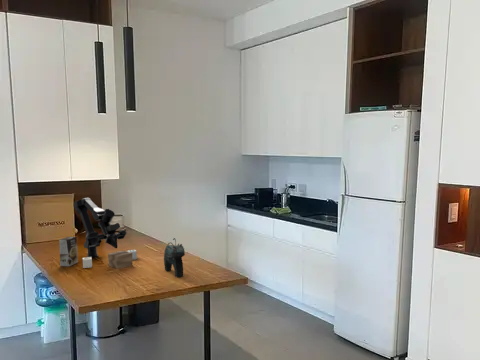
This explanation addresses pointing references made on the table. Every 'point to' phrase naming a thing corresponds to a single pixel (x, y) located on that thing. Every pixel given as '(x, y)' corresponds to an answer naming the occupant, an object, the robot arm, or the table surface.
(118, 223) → the robot arm
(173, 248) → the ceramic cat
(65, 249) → the coffee box
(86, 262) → the offwhite numeral block
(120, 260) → the plain walnut block
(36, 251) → the table surface
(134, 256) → the grey numeral block
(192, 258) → the table surface
